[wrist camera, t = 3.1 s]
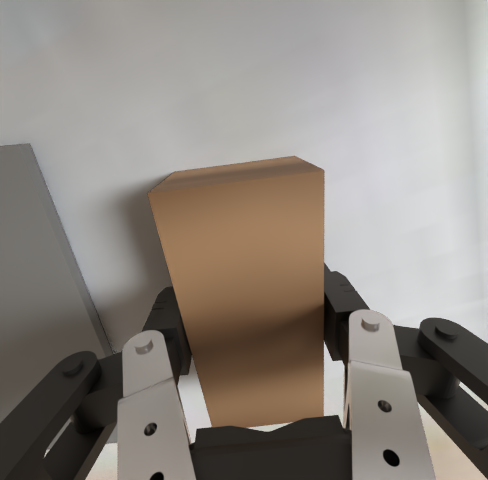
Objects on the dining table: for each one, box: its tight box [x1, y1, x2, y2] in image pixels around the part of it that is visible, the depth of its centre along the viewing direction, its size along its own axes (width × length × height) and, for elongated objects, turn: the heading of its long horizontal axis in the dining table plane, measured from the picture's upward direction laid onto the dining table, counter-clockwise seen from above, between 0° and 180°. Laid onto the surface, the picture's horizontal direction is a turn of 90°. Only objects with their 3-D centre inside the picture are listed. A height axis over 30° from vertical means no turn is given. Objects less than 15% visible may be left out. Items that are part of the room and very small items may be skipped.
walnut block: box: [147, 156, 324, 428], centre depth 11 cm, size 11×5×4 cm, turn 7°
